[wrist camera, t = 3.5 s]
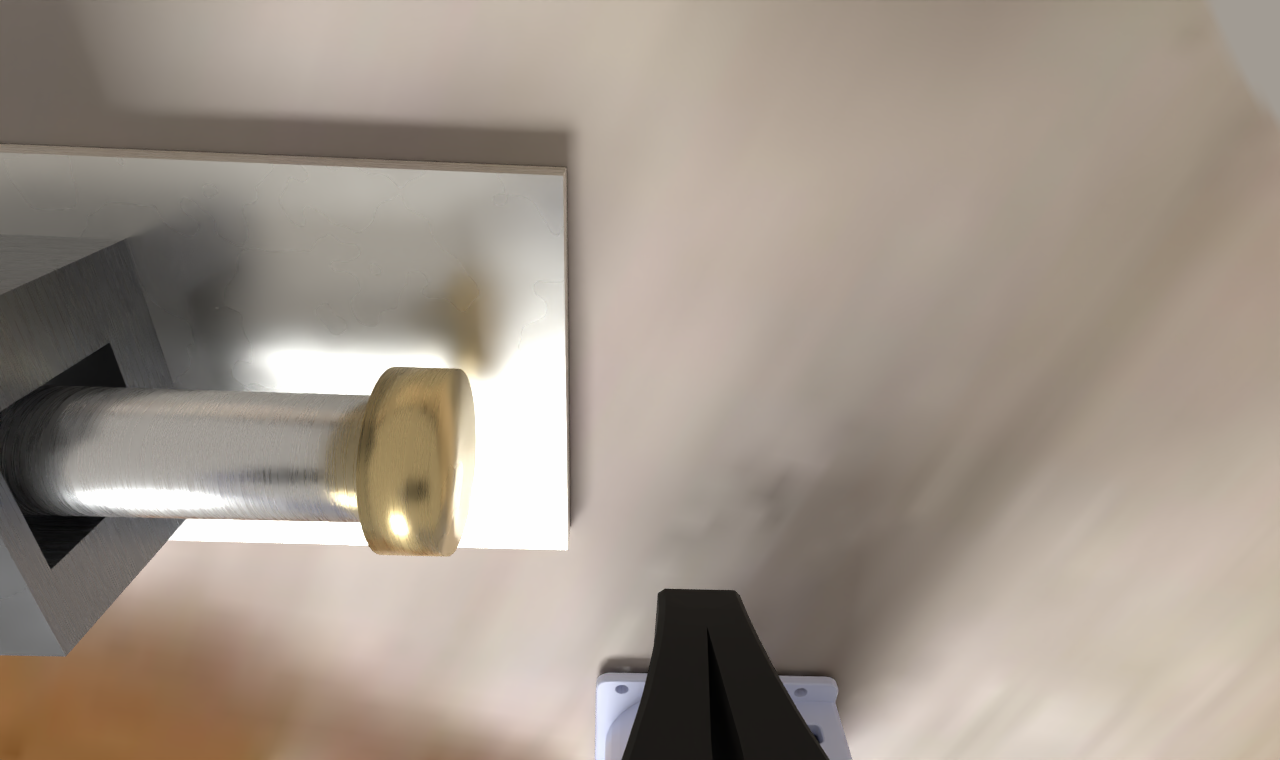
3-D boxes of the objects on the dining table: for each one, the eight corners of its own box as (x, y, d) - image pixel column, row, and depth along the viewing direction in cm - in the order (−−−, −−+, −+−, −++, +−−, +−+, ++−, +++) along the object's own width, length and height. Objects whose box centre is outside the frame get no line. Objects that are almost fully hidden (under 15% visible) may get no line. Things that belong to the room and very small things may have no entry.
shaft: (468, 337, 17) (420, 435, 13) (481, 478, 19) (442, 598, 15) (-138, 317, 16) (-376, 411, 12) (-56, 464, 18) (-237, 583, 15)
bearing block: (566, 167, 17) (530, 254, 11) (570, 529, 23) (547, 719, 17) (-335, 129, 16) (-913, 200, 10) (-97, 512, 22) (-375, 704, 16)
